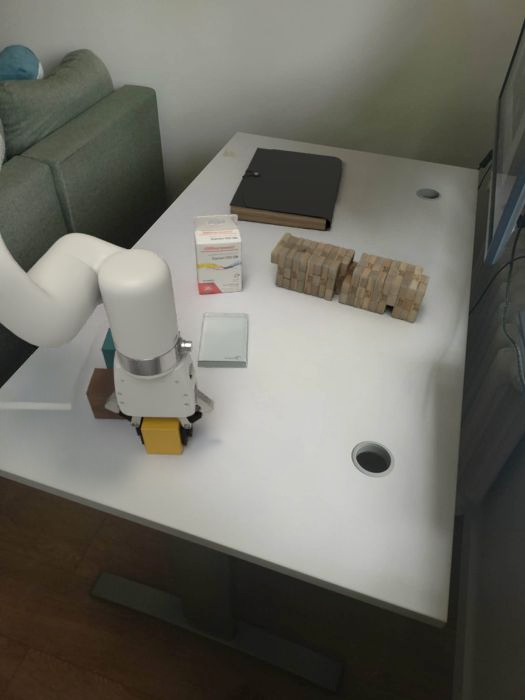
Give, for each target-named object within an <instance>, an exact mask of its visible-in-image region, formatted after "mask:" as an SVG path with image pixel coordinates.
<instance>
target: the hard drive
mask: <svg viewBox="0 0 525 700" xmlns="http://www.w3.org/2000/svg"><path fill="white" fill-rule="evenodd" d="M202 316H203V317H202V325H201V331H200V339H199V347H198V356H197V367H199V368H232V369H233V368H234V369H235V368H237V369H239V368H240V369H244V368H247V364H248V363H247V361H248V360H247V359H248V329H249V328H248V327H249V314H248V313H245V312H204V313H203V315H202Z"/></svg>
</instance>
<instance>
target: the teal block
mask: <svg viewBox="0 0 525 700" xmlns="http://www.w3.org/2000/svg"><path fill="white" fill-rule="evenodd" d="M100 350H101V353H102V356H103V359H104V360H103V361H104V363H105V367H106V368H109V369H114V357H115V351H116V349H115V345H114V341H113V337H112V333H111V330H110V327H108V329H107V332H106V335H105V338H104V340H103V344H102V346H101V349H100Z"/></svg>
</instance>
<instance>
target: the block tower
mask: <svg viewBox="0 0 525 700" xmlns="http://www.w3.org/2000/svg"><path fill="white" fill-rule="evenodd" d="M355 255H356V250H355V249H352V248H347V247H343V246H339V245H334V244H331V243H325V242H321V241H320V242H319V241H317V240H311V239H308V238H304V237H298V236H294V235H292V233H290V232H285V233H283V235H282V237H281V238H280V240H279V241H278V242H277V244H276V245H275V246H274V248H273V249H272V250H271V252H270V263H271V264H274V265H277V267H276V278H275V286H278V287H282V288H284V289H286V290H291V291H295V292H299V293H304V294H306V295H310V296H313V297H319V298H324V300H327V301H332V299H333V298H334V295H335V294H338V295H339V299H338V303H339V304H344V305H348V306H353V307H355V308H357V309H362V310H366V311H369V312H372V313H377V314H381V315H383V314H384V313H385V310H386V308H387V306H390V307H393V308H392V310H391V314H390V317H391V318H394V319H400V320H401V321H402V320H403V321H406V322H407V323H408V322H409V323H412V324H414V323H415V321H416V319H417V316H418V313H419V310H420V307H421V305H422V302H423V299H424V297H425V295H426V292H427V288H428V283H429V280H430V276H429V275H426V274H423V271H424V266H421V265H418V264H417V265H416V264H413V263H408V262H406V261H400V260H396V259H392V258H389V257H383V256H379V255H375V254H370V253H367V252H363V253H362V254H361V256H360V257H359V261H354V260H355Z"/></svg>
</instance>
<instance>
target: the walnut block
mask: <svg viewBox="0 0 525 700" xmlns="http://www.w3.org/2000/svg"><path fill="white" fill-rule="evenodd" d="M114 391H115V383H114V369H109V368H107V367H106V368H105V367H102V368H101V367H94V369H93V372H92V375H91V377H90V380H89V383H88V387H87V389H86V393H85V395H86V397H87V400H88V403H89V406H90V409H91V412H92V415H93V417H94V419H95V420H98V419H99V420H126V419H125V418H123V417H121V416H119V413H115V412H113V411H111V410H109V409H106V408H105V404H106V400H107V398H108V397H109V396H110V395H111V394H112V393H113V392H114Z"/></svg>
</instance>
